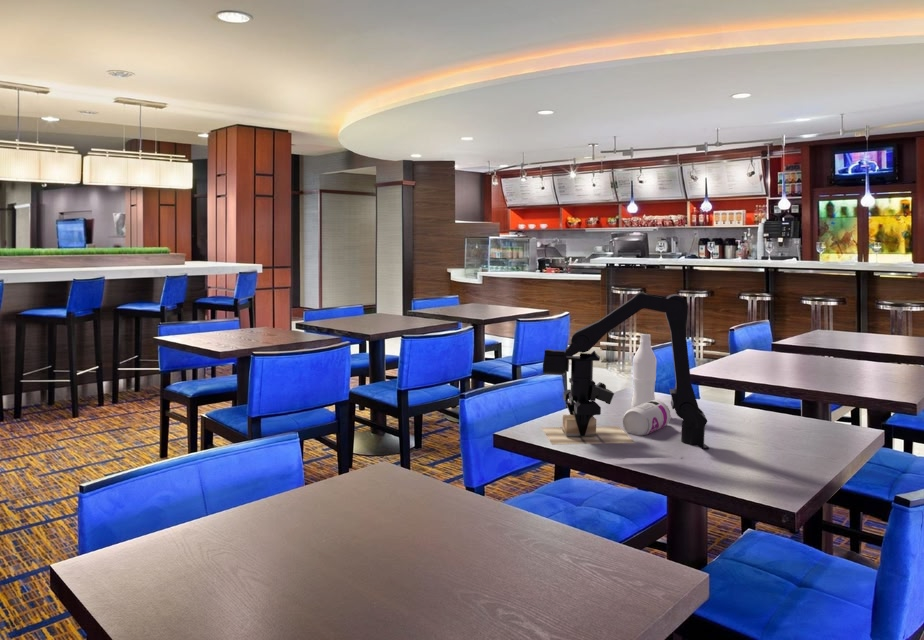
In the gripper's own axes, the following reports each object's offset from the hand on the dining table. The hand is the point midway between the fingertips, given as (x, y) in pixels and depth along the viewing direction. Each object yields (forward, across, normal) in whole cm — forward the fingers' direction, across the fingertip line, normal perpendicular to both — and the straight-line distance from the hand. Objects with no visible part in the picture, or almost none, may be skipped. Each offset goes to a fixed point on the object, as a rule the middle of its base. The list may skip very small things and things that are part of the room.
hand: (580, 433), depth 182 cm
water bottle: (+2, +26, -26) cm, 37 cm away
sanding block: (0, 0, 0) cm, 0 cm away
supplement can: (-2, +11, -25) cm, 28 cm away
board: (+2, 0, -2) cm, 2 cm away
